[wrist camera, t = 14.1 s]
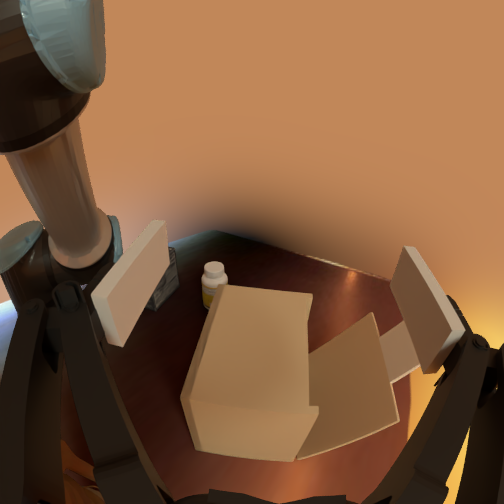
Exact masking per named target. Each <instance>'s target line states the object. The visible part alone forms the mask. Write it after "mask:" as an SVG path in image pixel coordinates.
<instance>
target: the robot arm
mask: <svg viewBox="0 0 504 504" xmlns="http://www.w3.org/2000/svg"><path fill="white" fill-rule="evenodd" d="M104 34H105V23H104V7H103V0H0V155H5V156H6V158H7V160H8V162H9V164H10V166H11V169H12V170H13V173H14V175H15V177H16V178H17V180H18V182H19V184H20V186H21V188H22V190H23V192H24V193H25V195H26V197H27V199H28V201H29V202H30V204H31V206H32V208H33V209H34V211H35V213H36V214H37V216H38V218H39V219H40V221H41V222H39V221H29V222H26V223H24V224H21V225H19V226H17V227H16V228H14V229H12V230H11V231H9V232H8V233H7V234H6V235H4V236H3V237H2V238H1V239H0V275H1V278H2V280H3V282H4V285H5V287H6V289H7V292H8V294H9V296H10V298H11V300H12V303H13V305H14V307H15V309H16V311H17V315H18V318H17V321H16V324H15V328H14V331H13V334H12V338H11V342H10V345H9V349H8V353H7V357H6V361H5V366H4V370H3V375H2V380H1V385H0V504H66V500H65V488H64V480H63V470H62V457H61V435H60V405H61V382H62V369H63V358H64V357H65V362H66V367H67V372H68V377H69V382H70V386H71V390H72V394H73V398H74V402H75V406H76V410H77V413H78V417H79V420H80V424H81V427H82V430H83V433H84V436H85V439H86V442H87V445H88V448H89V451H90V454H91V456H92V459H93V462H94V469H93V475H94V478H95V481H96V484H97V486H98V488H99V491H100V493H101V495H102V497H103V499H104V502H105V504H277V503H273V502H269V501H266V500H262V499H259V498H256V497H252V496H249V495H246V494H243V493H234V492H227V491H220V490H213V489H209V494H198V495H192V496H188V497H185V498H182V499H179V500H177V501H175V500H174V498H173V496H172V495H171V493H170V492H169V490H168V489H167V487H166V486H165V484H164V483H163V481H162V480H161V478H160V477H159V475H158V473H157V472H156V470H155V468H154V466H153V464H152V462H151V461H150V459H149V457H148V455H147V453H146V451H145V449H144V447H143V445H142V443H141V441H140V439H139V437H138V435H137V433H136V430H135V428H134V426H133V424H132V422H131V419H130V417H129V415H128V412H127V410H126V408H125V405H124V403H123V401H122V398H121V396H120V393H119V391H118V388H117V385H116V383H115V380H114V377H113V375H112V372H111V369H110V366H109V363H108V360H107V357H106V354H105V351H104V348H103V345H102V343H101V339H102V338H103V336H104V334H105V337H106V339H107V342H108V343H109V344H113V345H117V346H121V347H123V346H124V344H125V342H126V340H127V339H128V337H129V335H130V333H131V331H132V329H133V327H134V325H135V324H136V322H137V320H138V318H139V316H140V315H141V313H142V311H143V309H144V307H145V306H146V304H147V302H148V300H149V298H150V297H151V295H152V293H153V291H154V290H155V288H156V286H157V285H158V283H159V281H160V279H161V278H162V276H163V274H164V273H165V271H166V269H167V268H168V266H169V264H170V260H169V251H168V241H167V229H166V221H160V220H153V221H152V222H151V223H150V224H149V225H148V226H147V227H146V228H145V230H144V231H143V232H142V233H141V234H140V235H139V236H138V238H137V239H136V240H135V241H134V242H133V243H132V245H131V246H130V247H129V248H128V249H127V250H126V251H125V253H124V254H123V248H122V240H121V232H120V227H119V222H118V219H117V218H116V216H109V215H106V214H105V213H104V212H103V211H102V210H101V209H99V208H97V207H96V203H95V199H94V195H93V191H92V187H91V182H90V178H89V174H88V170H87V164H86V160H85V155H84V149H83V144H82V139H81V133H80V127H79V120H78V118H79V116H80V115H81V114H82V112H83V111H84V109H85V108H86V106H87V104H88V102H89V99H90V92H91V91H92V90H93V89H96V88H98V87H99V86H100V85H101V84H102V83H103V81H104V77H105V63H106V53H105V52H106V51H105V37H104ZM41 223H42V224H43V225H42V224H41ZM43 226H44V227H45V229H43ZM84 284H88V285H87V286H86V287H85V288H84V290H83V291H82V289H81V286H80V285H84ZM390 288H391V290H392V293H393V295H394V297H395V300H396V302H397V304H398V307H399V309H400V312H401V314H402V317H403V319H404V322H405V324H406V327H407V329H408V332H409V335H410V337H411V340H412V343H413V346H414V348H415V351H416V354H417V357H418V360H419V363H420V366H421V368H422V371H423V374H431V373H437V371H438V370H439V369H440V367H441V366H442V365H443V366H444V368H445V372H444V373H443V374H442V376H441V377H440V378H439V379H438V381H437V382H436V383H435V385H434V386H436V385H437V387H436V389H435V391H434V393H433V396H432V397H431V399H430V402H429V404H428V406H427V408H426V410H425V412H424V413H423V416H422V417H421V419H420V421H419V423H418V425H417V427H416V429H415V430H414V432H413V434H412V435H411V437H410V439H409V440H408V442H407V444H406V445H405V447H404V449H403V450H402V452H401V454H400V455H399V457H398V458H397V460H396V461H395V463H394V464H393V466H392V467H391V469H390V470H389V472H388V473H387V475H386V476H385V477H384V479H383V480H382V482H381V483H380V484H379V486H378V487H377V488H376V489H375V490H374V492H373V493H371V494H370V495H369V496H368V497H367V498H366V499H365V500H364V501H363V502H362V503H361V504H443V503H444V501H445V499H446V497H447V494H448V490H449V488H448V487H447V486H446V481H447V479H448V477H449V475H450V472H451V470H452V468H453V466H454V464H455V462H456V460H457V457H458V455H459V453H460V450H461V448H462V445H463V443H464V440H465V438H466V435H467V432H468V430H469V427H470V431H469V438H468V445H467V451H466V457H465V463H464V468H463V473H462V477H461V481H460V486H459V490H458V494H457V497H456V501H455V504H504V343H503V344H502V346H501V347H500V349H499V350H498V349H494V348H490V346H489V344H488V342H487V341H486V339H485V338H483V337H482V336H480V335H478V334H473V332H472V330H471V328H470V326H469V325H468V323H467V321H466V319H465V318H464V316H463V314H462V312H461V310H459V307H458V305H457V304H456V302H455V301H454V300H453V299H452V298H451V297H450V296H449V295H445V293H444V291H443V290H442V288H441V286H440V285H439V283H438V282H437V280H436V278H435V277H434V275H433V274H432V272H431V271H430V269H429V268H428V266H427V265H426V263H425V261H424V260H423V258H422V257H421V255H420V254H419V253H418V251H417V250H416V248H415V247H409V246H403V249H402V252H401V255H400V258H399V261H398V264H397V267H396V270H395V273H394V275H393V278H392V281H391V283H390ZM497 387H498V388H497ZM496 388H497V389H496ZM282 504H358V503H355V502H351V501H347V500H346V495H336V496H315V497H310V498H306V499H302V500H297V501H292V502H287V503H282Z"/></svg>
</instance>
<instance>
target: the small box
mask: <svg viewBox="0 0 504 504" xmlns="http://www.w3.org/2000/svg"><path fill="white" fill-rule="evenodd" d="M168 251H169V260H170V264H169V266H168V268H167V269H166V271H165V273H164V274H163V276H162V278H161V279H160V281H159V283H158V285H157V286H156V288H155V290H154V291H153V293H152V295H151V297H150V298H149V300H148V302H147V304H146V306H145V308H147V309H150V310H153V311H157V310H158V309H159V308H160V307H161V306H162V304H163V303H164V302H165V301H166V300H167V299H168V298H169V297H170V296H171V295H172V294H173V293H174V292H175V290H176V289H177V288H178V287H179V286H180V285H179V279H178V271H177V262H176V253H175V248H172V247H168Z"/></svg>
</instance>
